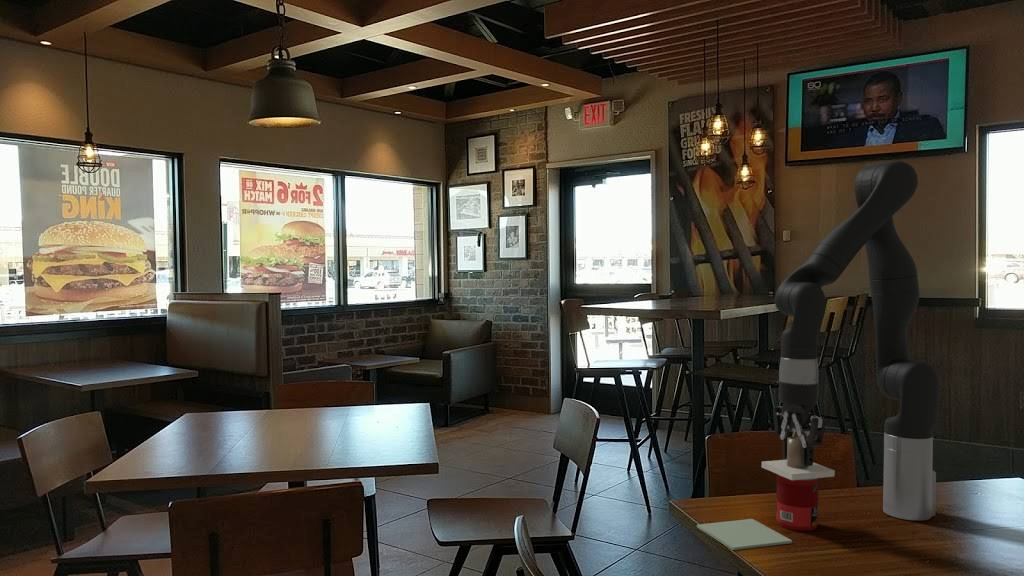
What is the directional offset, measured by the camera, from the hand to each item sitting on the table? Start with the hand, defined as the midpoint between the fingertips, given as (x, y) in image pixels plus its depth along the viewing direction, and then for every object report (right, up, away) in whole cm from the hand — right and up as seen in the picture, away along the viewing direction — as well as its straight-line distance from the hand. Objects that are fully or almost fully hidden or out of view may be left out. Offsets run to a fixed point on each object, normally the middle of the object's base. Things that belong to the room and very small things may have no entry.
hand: (797, 461), depth 155 cm
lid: (0, -2, 0) cm, 2 cm away
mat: (-13, -13, -5) cm, 19 cm away
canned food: (0, -13, 0) cm, 13 cm away
